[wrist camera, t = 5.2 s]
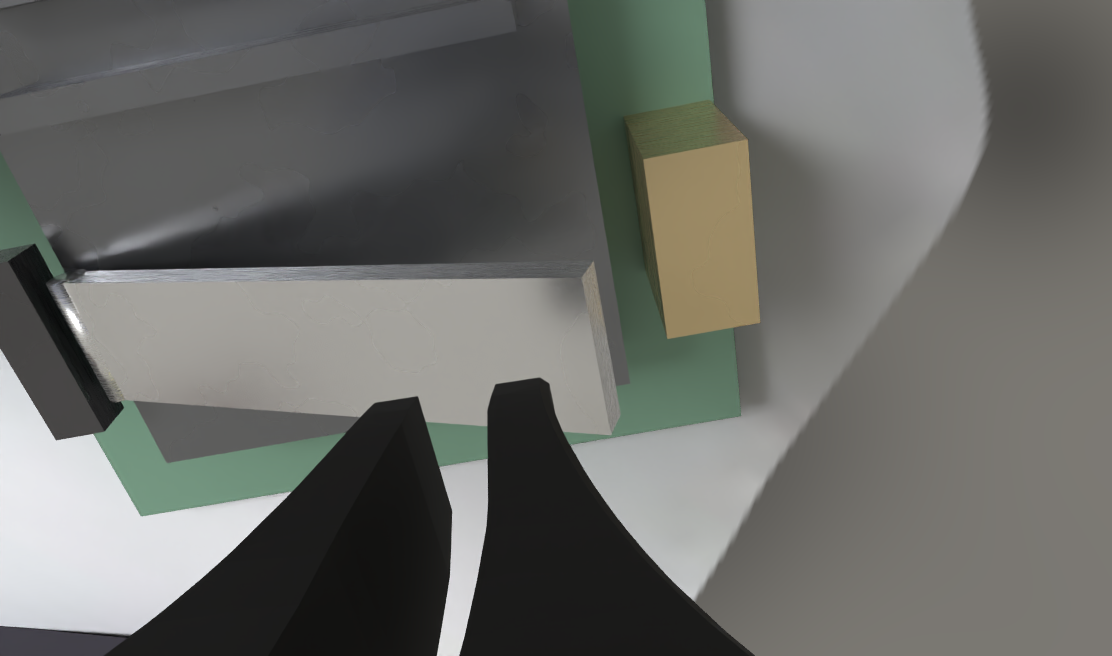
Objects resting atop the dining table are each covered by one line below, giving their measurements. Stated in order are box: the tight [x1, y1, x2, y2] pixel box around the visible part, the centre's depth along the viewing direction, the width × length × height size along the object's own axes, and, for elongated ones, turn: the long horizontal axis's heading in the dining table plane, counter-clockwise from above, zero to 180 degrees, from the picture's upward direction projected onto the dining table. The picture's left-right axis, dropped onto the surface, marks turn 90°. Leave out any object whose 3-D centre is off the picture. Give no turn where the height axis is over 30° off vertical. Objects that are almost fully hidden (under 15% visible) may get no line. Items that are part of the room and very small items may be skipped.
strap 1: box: [46, 261, 621, 435], centre depth 15 cm, size 12×3×1 cm, turn 100°
